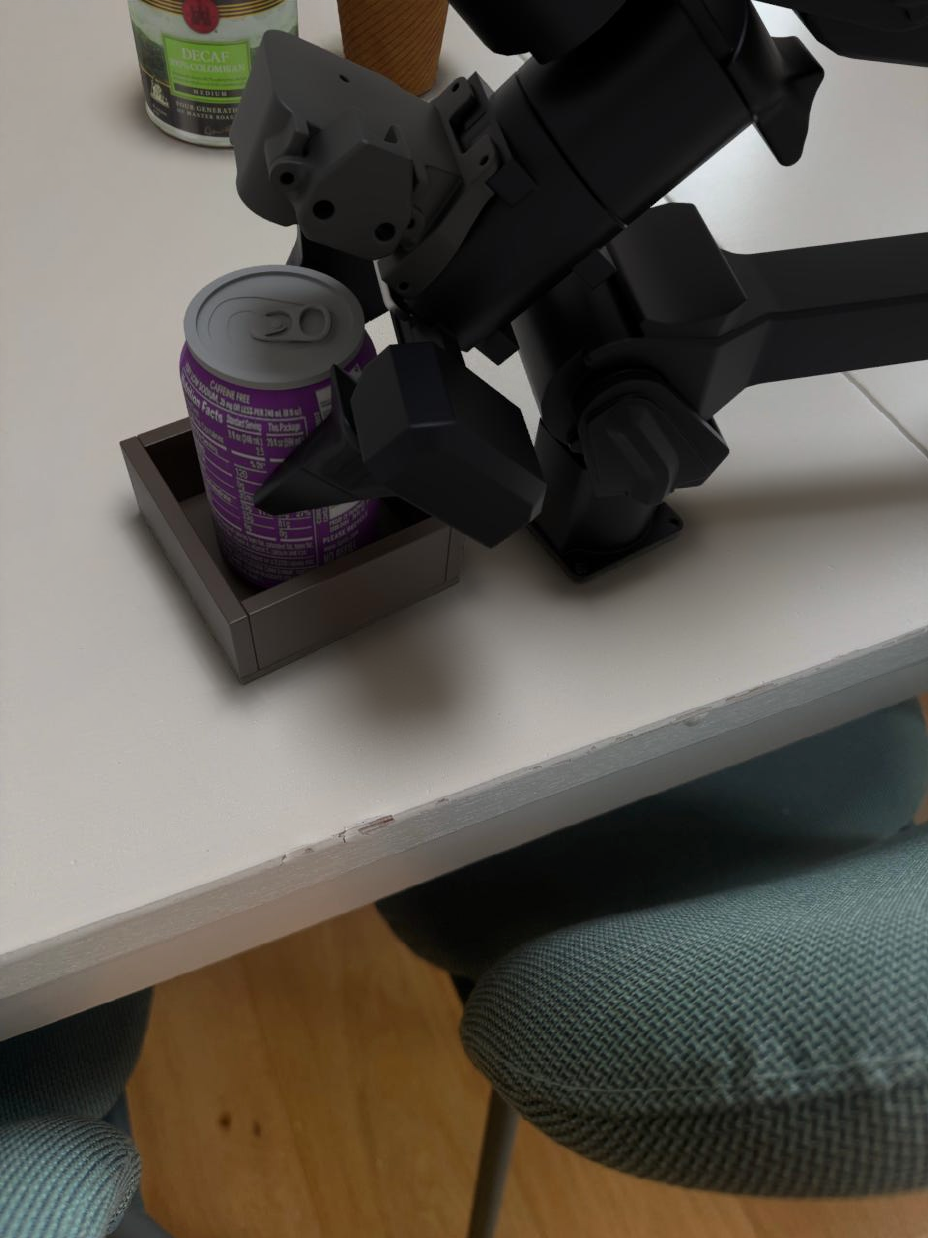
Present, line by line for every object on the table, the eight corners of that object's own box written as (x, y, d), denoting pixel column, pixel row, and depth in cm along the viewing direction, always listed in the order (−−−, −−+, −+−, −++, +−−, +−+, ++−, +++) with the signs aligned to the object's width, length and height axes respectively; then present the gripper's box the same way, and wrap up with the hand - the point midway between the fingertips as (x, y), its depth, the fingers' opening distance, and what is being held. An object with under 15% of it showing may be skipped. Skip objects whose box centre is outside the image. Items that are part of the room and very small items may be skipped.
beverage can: (374, 475, 45) (373, 255, 35) (383, 598, 41) (384, 390, 31) (221, 480, 44) (175, 255, 34) (215, 606, 40) (161, 394, 30)
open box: (242, 685, 39) (229, 624, 35) (139, 511, 43) (118, 441, 40) (459, 582, 43) (468, 517, 39) (344, 431, 47) (341, 361, 44)
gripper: (344, -193, 29) (61, 168, 36) (478, 148, 19) (52, 553, 26) (551, 68, 37) (286, 321, 44) (722, 404, 27) (344, 661, 34)
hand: (253, 437), depth 37 cm, fingers closed on beverage can, 7 cm apart
